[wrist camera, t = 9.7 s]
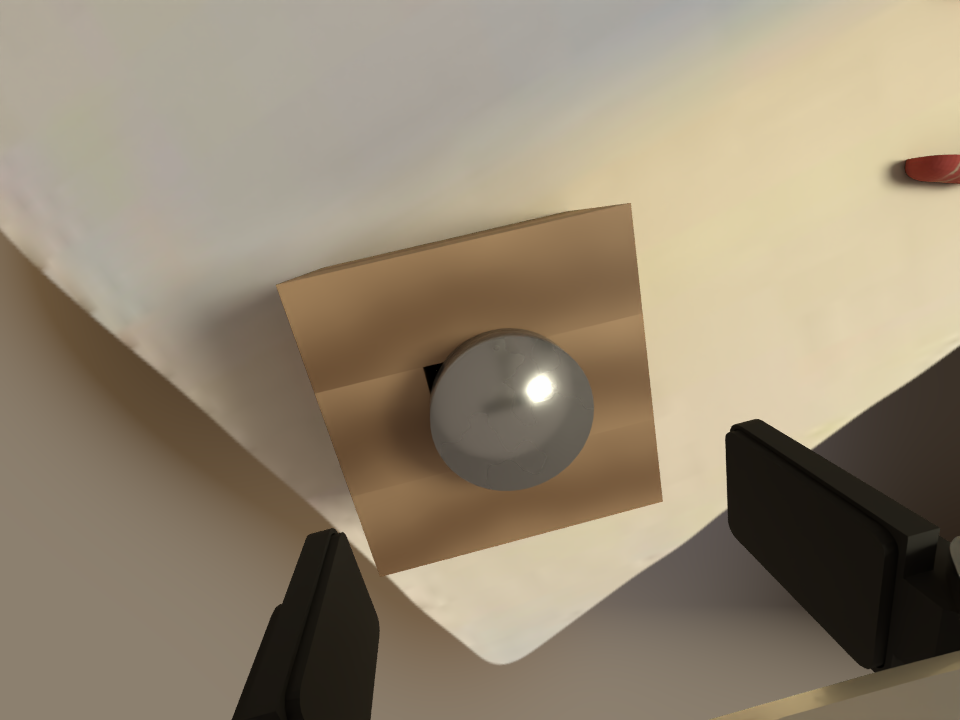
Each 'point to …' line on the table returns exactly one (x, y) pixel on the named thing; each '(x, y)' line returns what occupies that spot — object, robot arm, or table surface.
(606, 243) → the socket block
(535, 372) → the grey metal rounded piece
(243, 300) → the table surface
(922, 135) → the table surface
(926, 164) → the pliers
